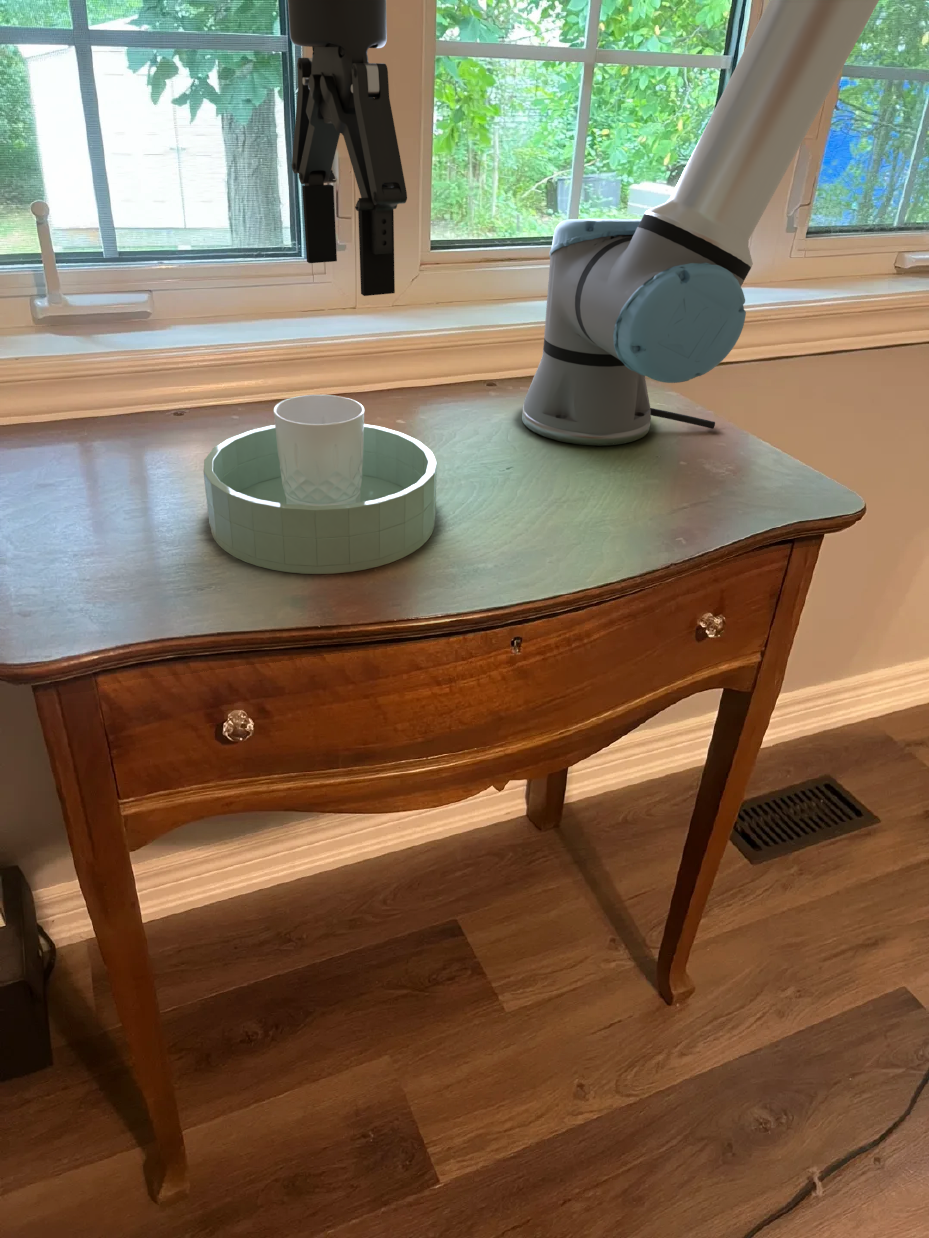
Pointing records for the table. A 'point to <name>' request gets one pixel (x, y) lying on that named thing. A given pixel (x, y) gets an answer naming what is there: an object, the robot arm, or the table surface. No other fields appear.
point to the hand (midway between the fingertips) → (348, 277)
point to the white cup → (320, 449)
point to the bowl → (321, 535)
